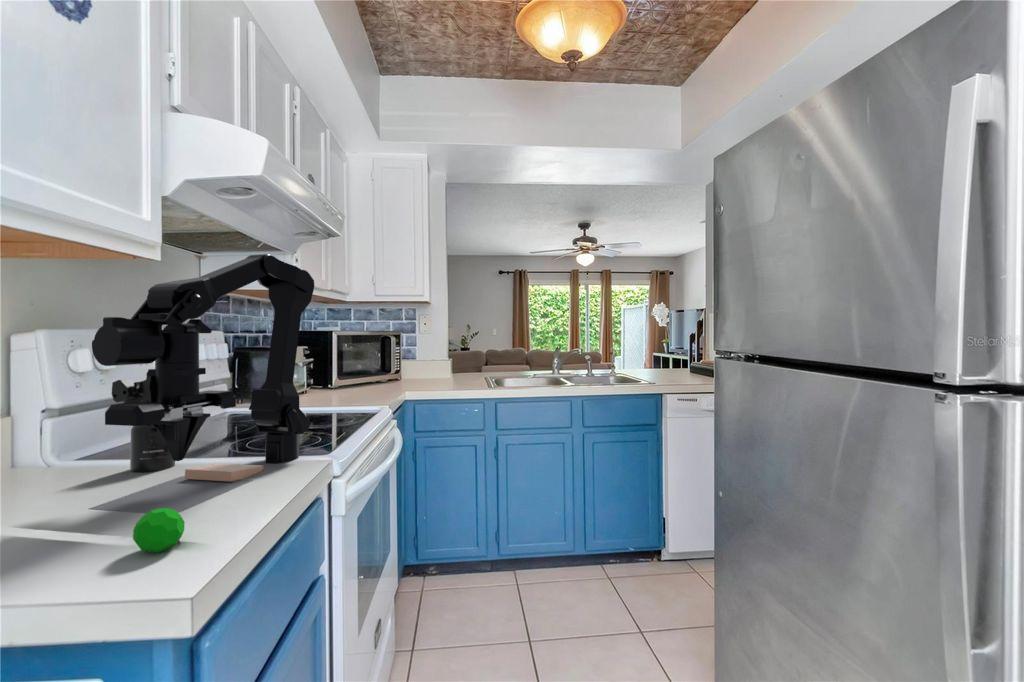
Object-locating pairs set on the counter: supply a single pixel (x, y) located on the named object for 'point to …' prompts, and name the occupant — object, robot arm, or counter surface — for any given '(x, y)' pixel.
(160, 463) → the supplement bottle
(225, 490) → the mat
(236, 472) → the tile
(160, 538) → the polyhedron
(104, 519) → the counter surface
